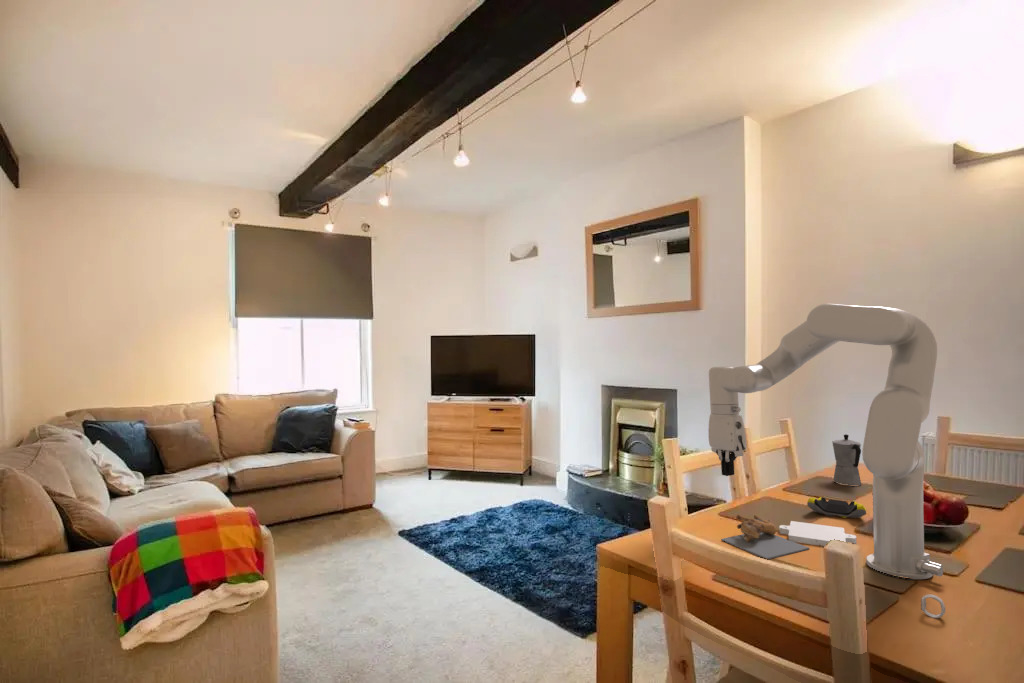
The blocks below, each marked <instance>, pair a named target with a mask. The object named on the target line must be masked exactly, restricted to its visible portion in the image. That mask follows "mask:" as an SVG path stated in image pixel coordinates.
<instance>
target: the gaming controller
mask: <svg viewBox="0 0 1024 683" xmlns="http://www.w3.org/2000/svg"><path fill="white" fill-rule="evenodd" d="M806 506H807V507H808V508H810V509H811V511H813V512H815V513H818V514H823V515H825V517H834V516H838V517H840V518H842V519H846V518H847V519H848V518H851V519H857V518H858V519H859V518H862V517H864V516H866V515H867V508H866V507H865V506H864V504H862V503H858V502H856V501H855V500H852V501H850V503H848V502H847V501H845V500H838V499H828V500H827V499H826V498H825V497H823V496H821V497H819V498H816V497H810V498H808V499H807V505H806Z"/></svg>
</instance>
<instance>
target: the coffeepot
mask: <svg viewBox="0 0 1024 683" xmlns="http://www.w3.org/2000/svg"><path fill="white" fill-rule="evenodd" d="M849 436H850V435H849V434H846V433H845V434H843V438H844V439H843V438H842V439H835V440H832V442H831V443H832V447H833V452H834V458H835V468H834V474H833V479H832V480H834V482H838V483H842V484H848V485H861V486H862V480H861V477H860V476H861V475H860V470H859V462H860V457H861V453H862V449H861V446H862V444H861V442H860V441H855V440H851V439H849ZM834 482H833V483H834Z"/></svg>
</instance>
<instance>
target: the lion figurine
mask: <svg viewBox="0 0 1024 683" xmlns="http://www.w3.org/2000/svg"><path fill="white" fill-rule="evenodd" d="M736 519H737V520H739V521H741V523H738V524H737V525H736V527H737V529H738V530H740V532H741V533H742V534H744V536H743V538H744V539H745V540H746V541H747V542H749V541H750V540H751V539H754V538H759V535H760V533H763V532H765V533H767V534H770V535H776V533H777V532H778V529H777V527H776V525H775V524H774V523H772V522H771V521H770V520H766V519H763V518H761V517H759V516H758V515H757V514H754V515H753V518H748V517H745V516H741V515H740V514H737V515H736Z"/></svg>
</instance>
